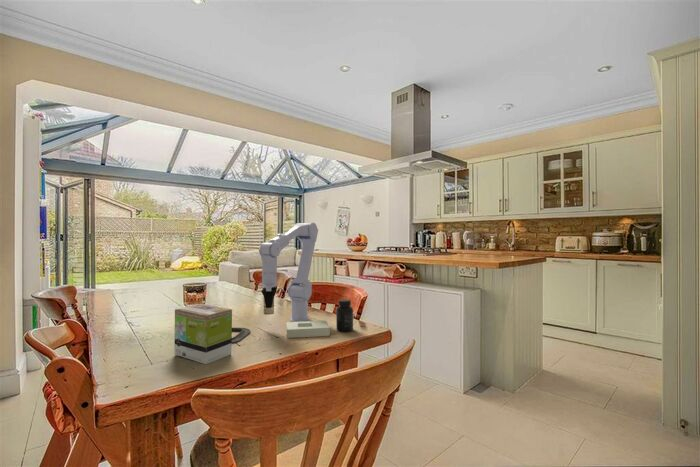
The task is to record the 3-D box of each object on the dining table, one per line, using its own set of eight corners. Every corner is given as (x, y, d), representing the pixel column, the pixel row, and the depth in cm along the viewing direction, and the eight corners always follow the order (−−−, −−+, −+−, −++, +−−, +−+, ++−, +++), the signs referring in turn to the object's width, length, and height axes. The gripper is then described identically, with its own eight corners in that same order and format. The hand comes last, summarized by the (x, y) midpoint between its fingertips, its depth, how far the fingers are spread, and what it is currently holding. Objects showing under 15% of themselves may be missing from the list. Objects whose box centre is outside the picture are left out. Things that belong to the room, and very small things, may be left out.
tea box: (172, 356, 102) (173, 308, 102) (200, 346, 111) (201, 302, 111) (205, 365, 95) (206, 314, 95) (232, 354, 104) (233, 307, 104)
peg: (263, 312, 133) (263, 292, 133) (274, 312, 134) (274, 292, 134) (263, 314, 129) (263, 294, 129) (274, 314, 130) (274, 293, 130)
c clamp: (229, 349, 110) (229, 341, 111) (183, 346, 113) (183, 338, 113) (256, 332, 130) (256, 325, 130) (216, 329, 133) (216, 323, 133)
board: (286, 329, 133) (286, 322, 133) (325, 327, 136) (326, 320, 136) (286, 337, 122) (286, 329, 122) (329, 335, 125) (329, 327, 125)
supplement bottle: (353, 328, 136) (354, 298, 136) (352, 332, 129) (352, 302, 129) (337, 327, 137) (337, 298, 137) (335, 332, 130) (335, 301, 130)
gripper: (260, 270, 138) (259, 303, 138) (257, 274, 124) (257, 310, 124) (277, 270, 140) (277, 302, 139) (277, 274, 125) (276, 310, 125)
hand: (269, 306), depth 132 cm, fingers closed on peg, 4 cm apart
